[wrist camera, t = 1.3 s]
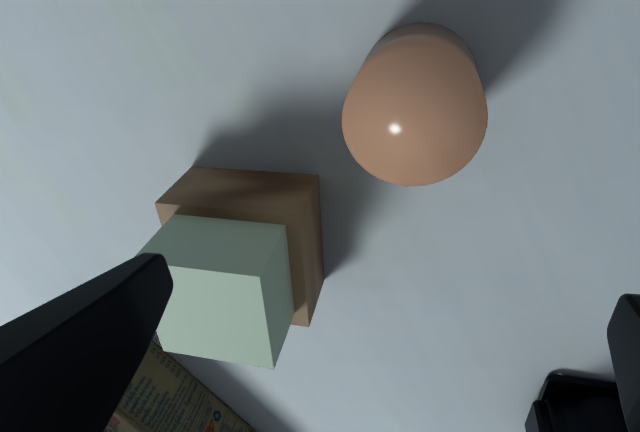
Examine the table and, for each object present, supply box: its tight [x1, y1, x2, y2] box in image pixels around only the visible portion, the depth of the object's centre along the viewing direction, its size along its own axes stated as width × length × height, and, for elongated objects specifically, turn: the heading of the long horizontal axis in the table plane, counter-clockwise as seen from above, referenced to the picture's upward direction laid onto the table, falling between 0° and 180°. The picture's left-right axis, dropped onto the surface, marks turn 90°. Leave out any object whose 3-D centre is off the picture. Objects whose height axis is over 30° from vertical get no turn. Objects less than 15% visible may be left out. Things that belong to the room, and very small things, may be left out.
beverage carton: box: [104, 340, 255, 432], centre depth 34 cm, size 8×19×7 cm, turn 38°
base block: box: [155, 167, 324, 327], centre depth 23 cm, size 7×7×4 cm
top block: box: [135, 214, 295, 370], centre depth 20 cm, size 6×6×4 cm
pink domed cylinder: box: [342, 23, 488, 186], centre depth 16 cm, size 5×5×4 cm
